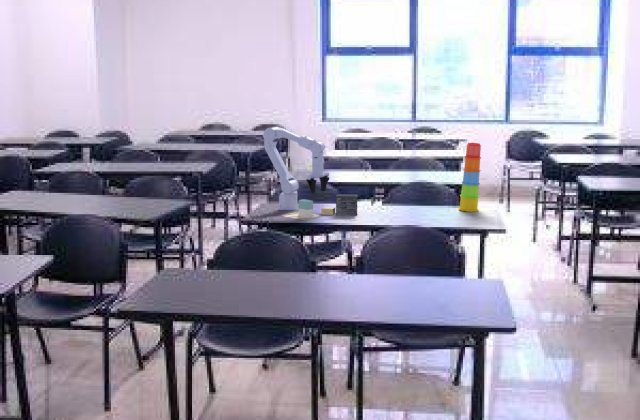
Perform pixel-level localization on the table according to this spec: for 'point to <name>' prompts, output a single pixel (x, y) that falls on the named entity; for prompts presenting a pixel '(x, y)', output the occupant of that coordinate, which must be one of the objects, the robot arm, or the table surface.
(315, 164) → the robot arm
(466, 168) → the stacking cups
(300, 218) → the building board
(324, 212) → the mustard brick
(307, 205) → the teal brick
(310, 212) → the white brick
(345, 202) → the small box
